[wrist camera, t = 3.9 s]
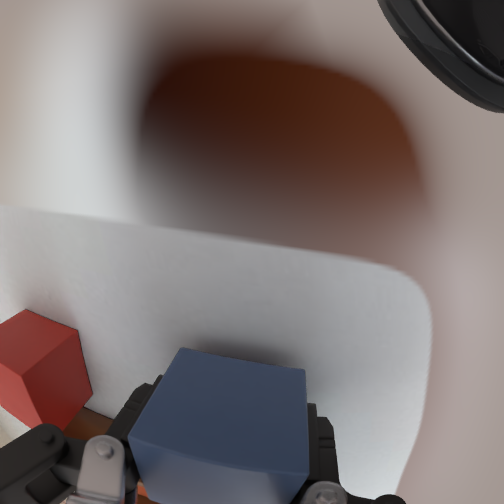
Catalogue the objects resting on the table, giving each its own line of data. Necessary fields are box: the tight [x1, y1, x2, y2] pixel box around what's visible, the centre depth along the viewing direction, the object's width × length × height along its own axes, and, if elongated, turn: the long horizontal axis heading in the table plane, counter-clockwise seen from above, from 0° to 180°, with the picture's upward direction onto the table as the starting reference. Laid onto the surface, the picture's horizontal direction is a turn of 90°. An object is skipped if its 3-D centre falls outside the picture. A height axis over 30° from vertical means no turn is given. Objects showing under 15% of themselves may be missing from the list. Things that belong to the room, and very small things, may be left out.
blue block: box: [128, 348, 309, 504], centre depth 8 cm, size 4×4×4 cm
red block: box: [0, 309, 93, 431], centre depth 10 cm, size 4×4×4 cm
